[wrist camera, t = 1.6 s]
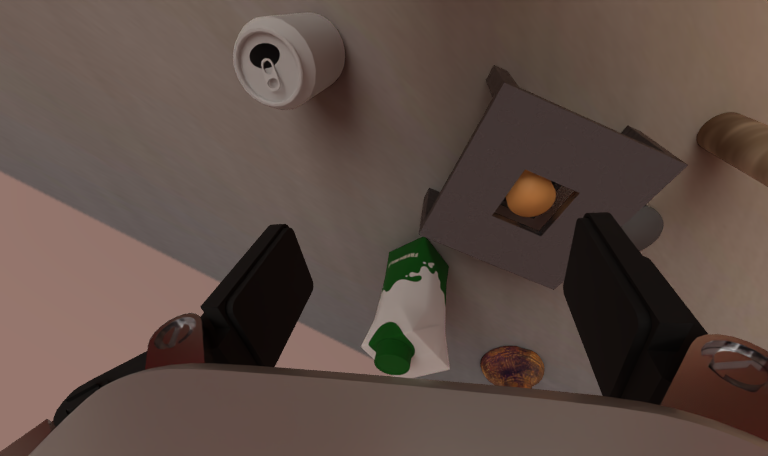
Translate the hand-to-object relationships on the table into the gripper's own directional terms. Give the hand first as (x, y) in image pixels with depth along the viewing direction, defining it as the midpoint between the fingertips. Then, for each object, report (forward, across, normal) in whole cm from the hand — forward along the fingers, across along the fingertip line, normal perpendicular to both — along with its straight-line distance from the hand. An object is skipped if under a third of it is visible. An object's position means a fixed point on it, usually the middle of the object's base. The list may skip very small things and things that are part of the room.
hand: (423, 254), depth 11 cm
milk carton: (+32, +6, +26) cm, 41 cm away
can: (+31, +14, -5) cm, 35 cm away
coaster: (+31, -22, +21) cm, 44 cm away
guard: (+31, -9, +11) cm, 34 cm away
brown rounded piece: (+32, -10, +54) cm, 63 cm away
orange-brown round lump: (+28, -9, +11) cm, 31 cm away
